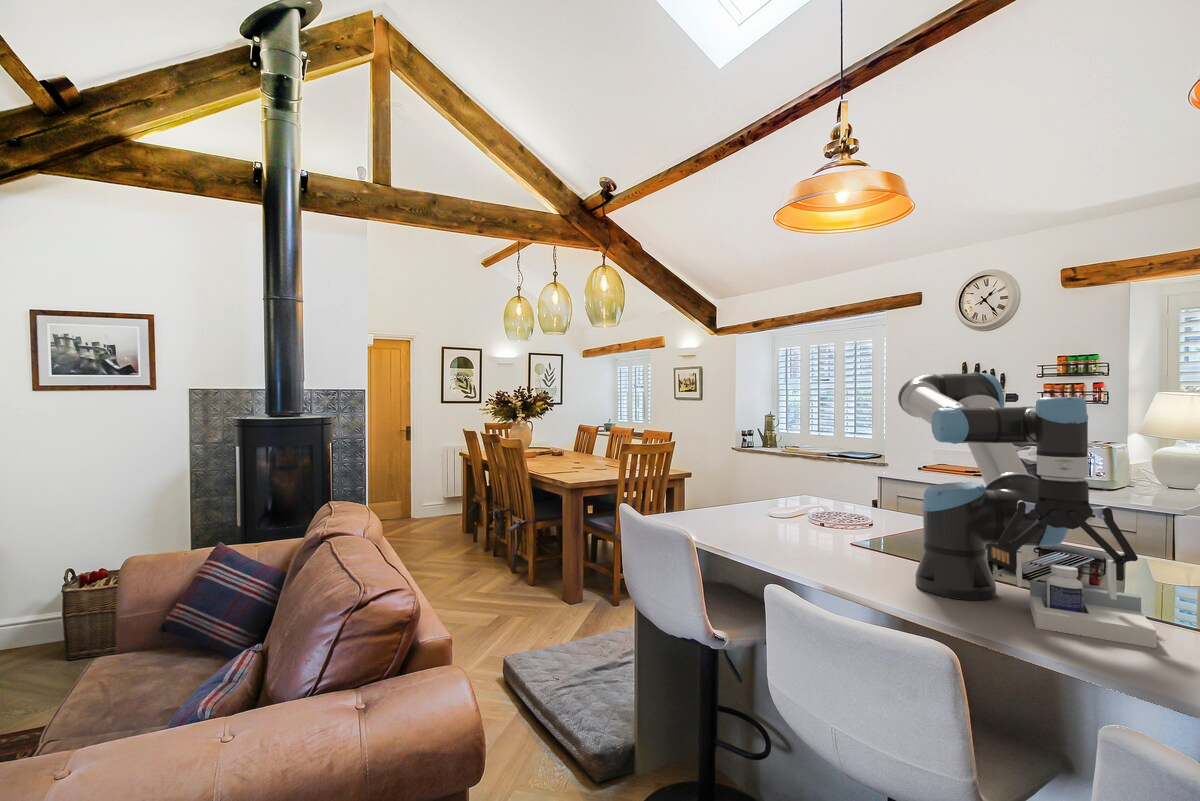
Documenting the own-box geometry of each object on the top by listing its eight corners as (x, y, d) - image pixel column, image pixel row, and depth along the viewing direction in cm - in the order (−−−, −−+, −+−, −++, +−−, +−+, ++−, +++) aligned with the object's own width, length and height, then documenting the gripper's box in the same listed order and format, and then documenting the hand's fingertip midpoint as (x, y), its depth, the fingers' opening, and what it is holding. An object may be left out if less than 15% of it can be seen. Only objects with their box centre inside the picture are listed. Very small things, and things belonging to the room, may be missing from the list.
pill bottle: (1090, 625, 102) (1090, 571, 103) (1057, 622, 103) (1056, 569, 104) (1072, 615, 108) (1071, 564, 108) (1040, 613, 109) (1039, 562, 109)
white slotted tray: (1035, 628, 103) (1035, 597, 103) (1030, 608, 113) (1029, 580, 113) (1156, 648, 94) (1155, 615, 94) (1138, 624, 104) (1138, 594, 104)
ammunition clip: (986, 559, 147) (986, 514, 148) (994, 559, 147) (993, 514, 147) (1014, 571, 137) (1013, 522, 137) (1022, 571, 137) (1021, 522, 137)
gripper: (982, 476, 110) (984, 585, 109) (1158, 485, 96) (1161, 609, 96) (982, 472, 116) (983, 575, 116) (1147, 480, 102) (1149, 596, 102)
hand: (1064, 591), depth 106 cm, fingers open, 13 cm apart
